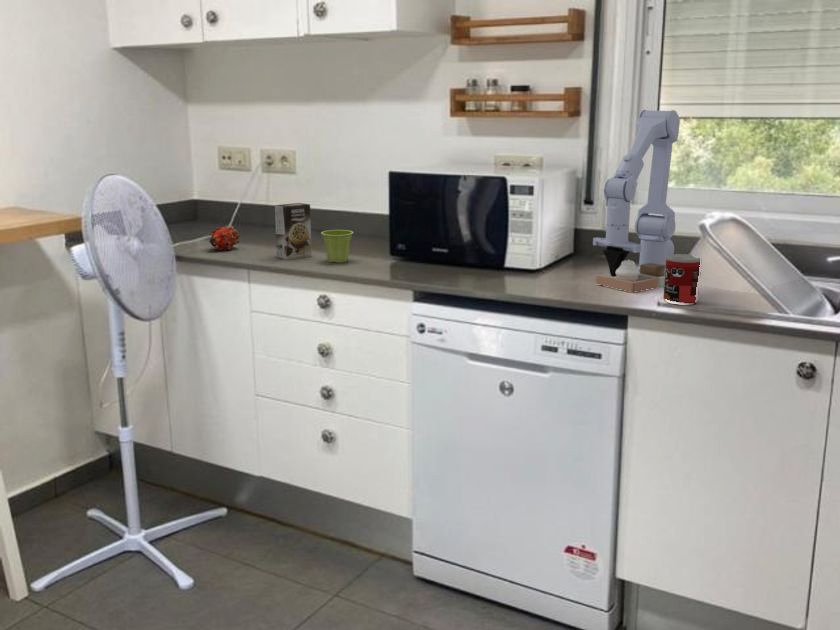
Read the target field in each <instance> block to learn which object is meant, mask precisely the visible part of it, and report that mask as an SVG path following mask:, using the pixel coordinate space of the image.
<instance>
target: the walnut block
mask: <svg viewBox="0 0 840 630" xmlns="http://www.w3.org/2000/svg"><path fill="white" fill-rule="evenodd" d="M639 272H640V274H644V275H649V276H654V277H662V276H664V274H665V265H661V264H656V263H647V264H641V265H640V271H639Z"/></svg>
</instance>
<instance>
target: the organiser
mask: <svg viewBox="0 0 840 630" xmlns="http://www.w3.org/2000/svg"><path fill="white" fill-rule="evenodd" d="M595 280H596V281H595V283H597V284H601V285H605V286H609V287H613V288H617V289H622V290H626V291H630V292H635V291H640V292H642V291H641V290H645V291H647V290H646V289H649V290H652V289H651V288H654V289H658V288H657V287H659V288H662V287H663V288H664V283H665V274H664V276H662V277H654V276H649V275H644V274H640V275H639V276H638V279H637V281H636V282H629V281H624V280H620V279H617V278H615V277H611V276H604V275H601V274H596V279H595ZM613 288H612V289H613ZM617 289H616V290H617ZM626 291H625V292H626ZM630 292H629V293H630ZM635 293H636V292H635Z"/></svg>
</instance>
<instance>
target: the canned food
mask: <svg viewBox="0 0 840 630" xmlns="http://www.w3.org/2000/svg"><path fill="white" fill-rule="evenodd" d="M692 255H693V254H687V253H684V254H683V253H674V254H672V255H668V256H667V258H666V269H665V283H664V286H663V300H664V299H667V300H670V301H676V302H684V303H695V300H696V297H695V295H696V287H697V282H698V276H699V267H700V266H699V265H700V258H695V257H693V256H692Z"/></svg>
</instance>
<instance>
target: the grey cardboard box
mask: <svg viewBox="0 0 840 630" xmlns="http://www.w3.org/2000/svg"><path fill="white" fill-rule="evenodd" d="M274 214H275V215H274V218H275V220H274V221H275V242H276V243H275V246H276V247H275V250H276V257H277V258H280V259H283V260H288V261H289V260H295V259H301V258H309V257H312V256H313V255H312V253H313V252H312V225H311V220H312V219H311V204H309V203H301V202H297V203H284V204H282V203H281V204H275V205H274Z"/></svg>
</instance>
